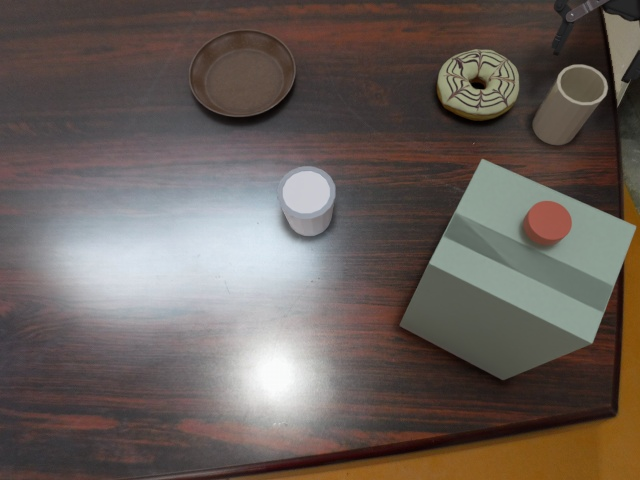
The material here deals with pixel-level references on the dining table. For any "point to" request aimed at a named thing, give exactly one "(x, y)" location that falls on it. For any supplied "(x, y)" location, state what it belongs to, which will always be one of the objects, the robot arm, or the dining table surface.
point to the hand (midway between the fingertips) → (589, 68)
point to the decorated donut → (482, 69)
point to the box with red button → (516, 277)
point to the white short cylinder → (307, 199)
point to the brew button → (547, 223)
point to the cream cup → (569, 104)
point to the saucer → (242, 72)
